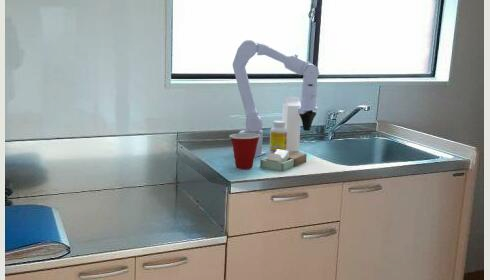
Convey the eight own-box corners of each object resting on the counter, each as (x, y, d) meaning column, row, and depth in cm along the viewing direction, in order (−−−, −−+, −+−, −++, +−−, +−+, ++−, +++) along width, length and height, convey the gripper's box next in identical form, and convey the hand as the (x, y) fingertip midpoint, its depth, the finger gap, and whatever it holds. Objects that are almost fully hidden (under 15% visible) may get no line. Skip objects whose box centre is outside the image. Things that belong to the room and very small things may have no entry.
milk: (298, 151, 220) (302, 98, 216) (284, 152, 218) (288, 97, 214) (293, 148, 226) (297, 96, 221) (279, 148, 224) (283, 95, 220)
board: (270, 162, 199) (270, 154, 199) (282, 157, 208) (282, 150, 207) (294, 166, 194) (295, 158, 194) (306, 161, 203) (306, 153, 202)
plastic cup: (238, 162, 197) (239, 130, 195) (264, 167, 192) (265, 134, 190) (222, 167, 188) (223, 134, 186) (248, 173, 183) (250, 138, 180)
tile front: (272, 159, 194) (270, 165, 193) (268, 152, 191) (266, 158, 190) (283, 161, 192) (281, 167, 191) (280, 154, 189) (277, 160, 188)
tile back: (273, 161, 195) (272, 156, 193) (278, 154, 198) (277, 149, 196) (284, 163, 193) (283, 158, 191) (289, 156, 196) (288, 150, 194)
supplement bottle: (286, 155, 212) (288, 123, 210) (269, 154, 212) (271, 122, 210) (285, 151, 219) (287, 120, 216) (269, 151, 219) (270, 119, 216)
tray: (259, 167, 191) (260, 159, 191) (271, 162, 199) (271, 155, 198) (282, 171, 187) (283, 163, 186) (293, 166, 195) (294, 158, 194)
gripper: (311, 98, 199) (308, 134, 202) (325, 95, 211) (323, 129, 214) (293, 96, 202) (291, 131, 205) (309, 93, 215) (306, 127, 217)
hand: (306, 130), depth 210 cm, fingers closed
